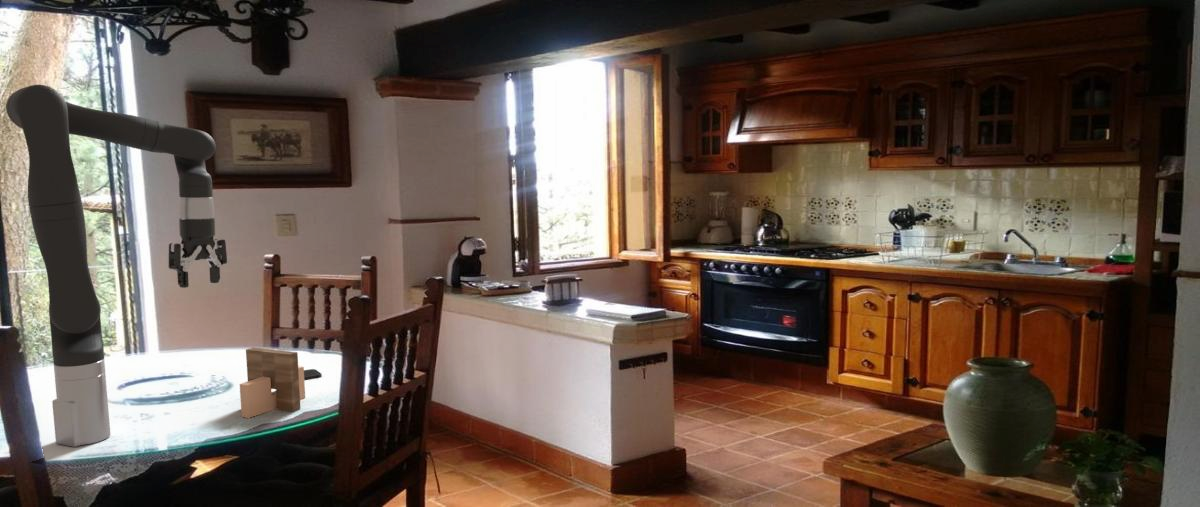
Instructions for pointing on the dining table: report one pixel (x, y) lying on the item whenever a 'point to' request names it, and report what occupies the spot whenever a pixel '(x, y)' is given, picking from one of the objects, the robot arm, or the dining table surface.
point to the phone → (311, 374)
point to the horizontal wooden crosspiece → (263, 395)
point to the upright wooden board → (277, 374)
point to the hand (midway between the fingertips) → (199, 285)
